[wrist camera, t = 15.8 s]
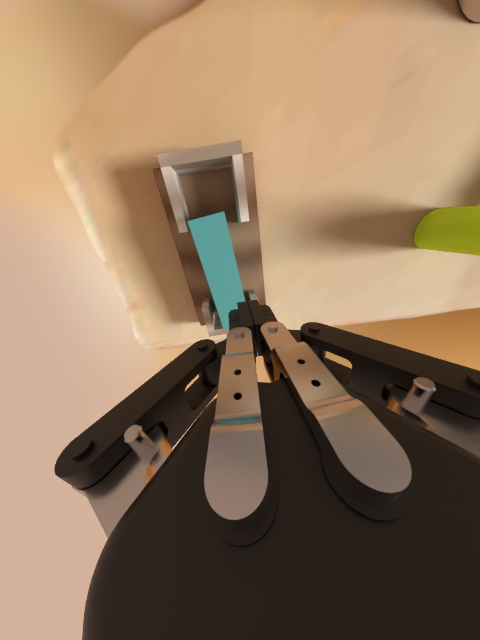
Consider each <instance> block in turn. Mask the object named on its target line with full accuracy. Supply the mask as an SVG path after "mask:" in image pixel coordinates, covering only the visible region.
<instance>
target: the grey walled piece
mask: <svg viewBox="0 0 480 640" xmlns="http://www.w3.org/2000/svg"><path fill="white" fill-rule="evenodd" d="M157 157H158V161H159V164H160V167H161V168H157V169H153V171H154V175H155V178H156V181H157V184H158V188H159V191H160V194H161V197H162V201H163V204H164V207H165V210H166V214H167V217H168V220H169V223H170V227H171V230H172V233H173V236H174V240H175V243H176V246H177V249H178V253H179V256H180V259H181V262H182V266H183V269H184V272H185V275H186V279H187V282H188V285H189V288H190V292H191V295H192V298H193V301H194V305H195V308H196V311H197V314H198V318H199V321H200V324H201V326H203V325H206V326H207V330H208V333H209V336H215V335H221V334H226V333H228V332H229V328H228V329H223V326H222V323H221V320H220V317H219V314H218V311H217V308H216V305H215V302H214V299H213V296H212V293H211V290H210V287H209V284H208V281H207V278H206V275H205V272H204V269H203V266H202V263H201V260H200V257H199V254H198V251H197V248H196V245H195V242H194V239H193V236H192V233H191V230H190V227H189V224H188V221H190V220H194V219H198V218H201V217H205V216H209V215H212V214H216V213H220V212H223V211H224V213H225V217H226V221H227V225H228V230H229V234H230V238H231V242H232V247H233V251H234V255H235V259H236V264H237V268H238V272H239V276H240V280H241V285H242V289H243V293H244V297H245V301H249V300H255V299H257V300H258V302H259V305H266V302H265V291H264V280H263V268H262V257H261V245H260V234H259V222H258V211H257V200H256V188H255V177H254V165H253V154H252V152H250V153H244V154H242V148H241V140H240V141H234V142H228V143H222V144H217V145H211V146H205V147H199V148H193V149H187V150H182V151H176V152H170V153H164V154H158V155H157Z"/></svg>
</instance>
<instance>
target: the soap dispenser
mask: <svg viewBox="0 0 480 640" xmlns="http://www.w3.org/2000/svg"><path fill="white" fill-rule="evenodd" d="M414 243H415V245H416V246H417V247H418V248H421V249H429V250H438V251H446V252H454V253H463V254H471V255H480V205H474V206H461V207H448V208H439V209H436V210H433V211H431V212H430V213H428V214H427V215H426V216H425V217H424V218H423V219H422V220H421V221H420V223H419V224H418V226H417V228H416V230H415V233H414Z"/></svg>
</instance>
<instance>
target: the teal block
mask: <svg viewBox="0 0 480 640" xmlns="http://www.w3.org/2000/svg"><path fill="white" fill-rule="evenodd" d="M188 224H189V227H190V230H191V233H192V236H193V239H194V242H195V245H196V248H197V251H198V254H199V257H200V260H201V263H202V266H203V269H204V272H205V275H206V278H207V281H208V284H209V287H210V290H211V293H212V296H213V299H214V302H215V305H216V308H217V311H218V314H219V317H220V320H221V323H222V326H223V329H228V328H229V317H228V313H229V312H230V311H231V310H234V309H238V306H237V302H243V301H245V297H244V293H243V289H242V285H241V280H240V276H239V272H238V268H237V264H236V259H235V255H234V251H233V247H232V242H231V238H230V234H229V230H228V225H227V221H226V217H225V213H224V211H223V212H220V213H216V214H212V215H209V216H205V217H201V218H198V219H194V220H190V221H188Z"/></svg>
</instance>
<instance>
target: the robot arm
mask: <svg viewBox="0 0 480 640" xmlns="http://www.w3.org/2000/svg"><path fill="white" fill-rule="evenodd" d="M458 1H459V4H460V7H461V9H462V12H463V13H464V14H465V15H466V17H467V18H468V19H470V20H472V21H474V22H480V0H458ZM237 306H238V309H234V310H231V311H230V312H229V313H228V317H229V332H228V334H227V338H226V339H225V340H224V341H222V342H219V343H217V344H215V342H214V341H212V340H209V339H205V340H200V341H198V342H196V343H194V344H193V345H192V346H190V347H189V348H188V349H187V350H186V351H184V352H183V353H182V354H181V355H179V356H178V357H177V358H175V359H174V360H173V361H172V362H170V363H169V364H168V365H167V366H165V367H164V368H163V369H162V370H160V371H159V372H158V373H157V374H155V375H154V376H153V377H152V378H150V379H149V380H148V381H147V382H145V383H144V384H143V385H141V386H140V387H139V388H138V389H137V390H135V391H134V392H133V393H132V394H130V395H129V396H128V397H127V398H125V399H124V400H123V401H121V402H120V403H119V404H118V405H116V406H115V407H114V408H113V409H112V410H110V411H109V412H108V413H106V414H105V415H104V416H103V417H101V418H100V419H99V420H98V421H96V422H95V423H94V424H93V425H92V426H90V427H89V428H88V429H86V430H85V431H84V432H83V433H81V434H80V435H79V436H78V437H76V438H75V439H74V440H73V441H72V442H71V443H70V444H69V445H68V446H67V447H66V448H65V449H64V450H63V452H62V453H61V455H60V456H59V457H58V459H57V461H56V464H55V474H56V475H57V476H58V477H59V478H61V479H63V480H64V481H66V482H67V483H69V484H71V485H72V487H73V488H74V489H75V490H76V491H78V492H79V493H81V494H83V495H84V496H86V497H87V498H88V500H89V502H90V504H91V506H92V508H93V510H94V512H95V513H96V516H97V518H98V519H99V521H100V523H101V525H102V527H103V529H104V531H105V533H106V535H107V537H108V540H107V542H106V544H105V546H104V548H103V550H102V553H101V555H100V557H99V560H98V562H97V565H96V568H95V571H94V574H93V577H92V580H91V584H90V587H89V591H88V595H87V600H86V606H85V612H84V622H83V636H82V640H480V371H478V370H475V369H471V368H468V367H465V366H461V365H458V364H454V363H451V362H448V361H445V360H441V359H438V358H434V357H431V356H428V355H425V354H421V353H418V352H414V351H411V350H407V349H404V348H401V347H398V346H395V345H391V344H387V343H384V342H381V341H378V340H374V339H371V338H368V337H364V336H361V335H358V334H354V333H351V332H347V331H344V330H341V329H338V328H334V327H331V326H328V325H324V324H321V323H316V322H309V323H305V324H303V325H302V326H301V330H288V329H287V328H286V327H285V326H284V325H283V324H282V323H280V322H278V321H277V319H276V317H275V316H274V314H273V312H272V310H271V308H270V307H269V306H267V305H259V302H258V300H257V299H255V300H249V301H243V302H237ZM326 351H328V352H331V353H333V354H335V355H338V356H340V357H343V358H345V359H347V360H349V361H350V362H351V364H352V369H351V368H348V367H346V366H343V365H341V364H339V363H336V362H334V361H332V360H329V359H327V358H325V355H326ZM257 352H258V355H259V356H263V359H264V366H265V369H266V371H267V374H268V376H269V379H270V381H271V383H262V382H258V381H257V374H256V365H255V364H256V357H257ZM197 375H199V378H198V379H197V380H196V381H195V382H194V383H193V384H192V385H191V386H190V387H189V388H188V389H187V390H186V391H185V388H186V386H187V385H188V384H189V383H190V382H191V380H193V379H194V378H195V377H196V376H197ZM184 391H185V392H184ZM217 393H218V395H217V398H216V399H214V400H213V401H212V402H211V403H210V404H209V402H210V401H211V400H212V399H213V398H214V396H215V395H216V394H217ZM208 404H209V405H208ZM207 405H208V406H207ZM206 406H207V407H206ZM205 407H206V408H205ZM202 411H203V412H202ZM201 412H202V413H201ZM200 413H201V415H200ZM199 415H200V416H199ZM198 416H199V417H198ZM197 417H198V418H197ZM196 418H197V420H196ZM195 420H196V421H195ZM194 421H195V422H194ZM193 422H194V423H193ZM192 423H193V425H192V426H191V424H192ZM190 426H191V427H190ZM189 427H190V429H189V430H188V431H187V429H188V428H189ZM186 431H187V433H186V434H185V435H184V437H183V438H182V439H181V440H180V442H179V443H178V444H177V446H176V447H175V448H174V449H173V451H172V448H173V446H174V445H175V444H176V443H177V441H178V440H179V439H180V438H181V437H182V435H183V434H184V433H185V432H186Z"/></svg>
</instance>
